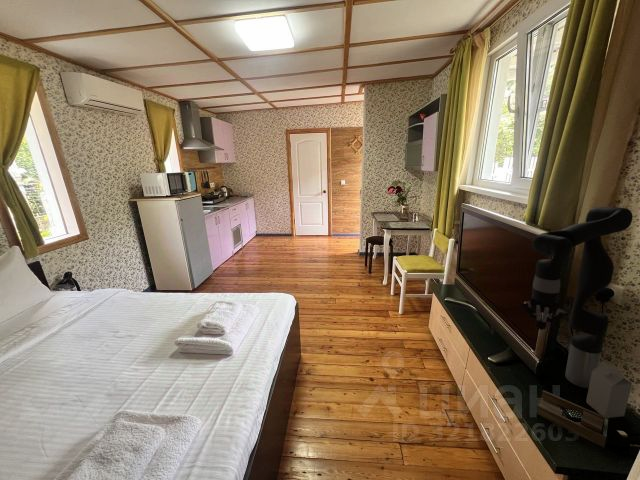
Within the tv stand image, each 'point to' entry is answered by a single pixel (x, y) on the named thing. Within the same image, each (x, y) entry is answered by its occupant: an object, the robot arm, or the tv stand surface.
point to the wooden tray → (554, 414)
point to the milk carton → (608, 391)
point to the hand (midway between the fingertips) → (540, 328)
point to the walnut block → (592, 422)
